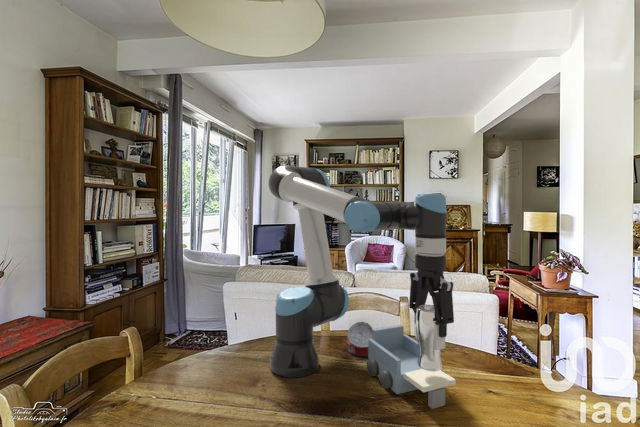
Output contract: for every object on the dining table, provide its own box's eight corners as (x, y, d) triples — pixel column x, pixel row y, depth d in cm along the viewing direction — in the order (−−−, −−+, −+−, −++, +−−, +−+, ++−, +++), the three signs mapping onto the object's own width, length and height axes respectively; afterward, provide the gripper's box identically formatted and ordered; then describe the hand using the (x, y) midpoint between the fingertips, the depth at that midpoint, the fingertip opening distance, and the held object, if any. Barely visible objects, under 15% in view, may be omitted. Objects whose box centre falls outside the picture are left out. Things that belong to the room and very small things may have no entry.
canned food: (373, 360, 117) (386, 338, 114) (358, 368, 109) (372, 344, 107) (351, 338, 124) (363, 316, 121) (335, 343, 116) (347, 321, 113)
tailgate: (403, 373, 87) (423, 387, 80) (433, 366, 91) (455, 379, 84) (403, 378, 87) (423, 393, 80) (433, 371, 91) (455, 385, 83)
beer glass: (445, 374, 81) (446, 313, 81) (416, 371, 82) (417, 311, 82) (441, 360, 88) (442, 305, 88) (414, 358, 89) (414, 303, 89)
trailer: (363, 369, 101) (363, 330, 101) (407, 360, 107) (408, 323, 107) (411, 414, 79) (412, 365, 79) (463, 400, 85) (464, 354, 85)
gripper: (395, 250, 92) (395, 331, 93) (446, 260, 74) (445, 362, 75) (417, 248, 95) (417, 327, 96) (472, 258, 77) (471, 356, 77)
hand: (429, 342), depth 85 cm, fingers closed on beer glass, 7 cm apart
